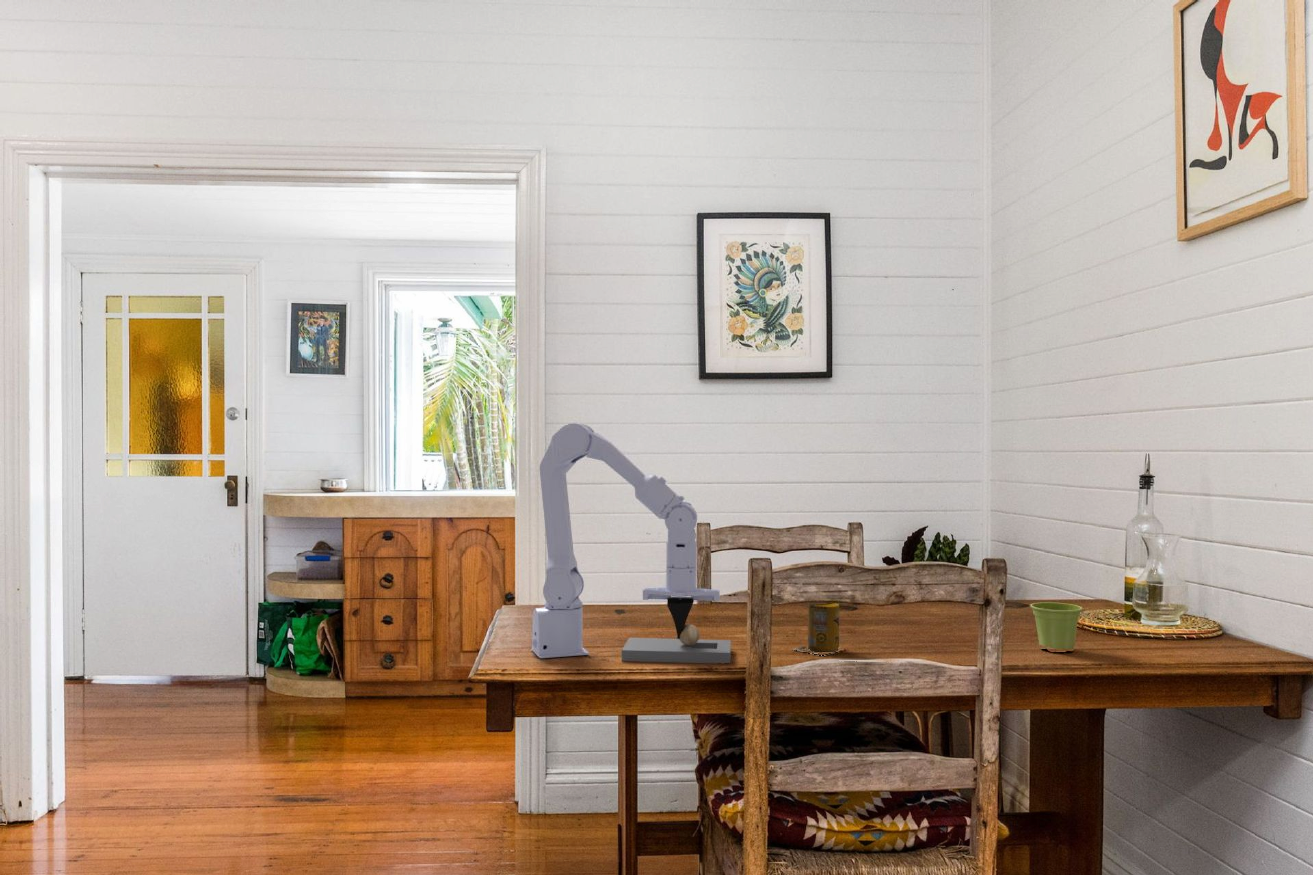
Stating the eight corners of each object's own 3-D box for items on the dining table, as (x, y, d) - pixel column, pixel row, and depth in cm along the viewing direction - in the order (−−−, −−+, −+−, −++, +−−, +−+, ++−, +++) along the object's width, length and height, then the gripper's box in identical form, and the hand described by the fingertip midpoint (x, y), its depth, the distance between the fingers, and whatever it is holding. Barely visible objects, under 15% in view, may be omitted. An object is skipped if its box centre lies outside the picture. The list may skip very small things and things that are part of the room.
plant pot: (1030, 653, 174) (1030, 608, 174) (1030, 643, 183) (1030, 600, 183) (1084, 657, 170) (1083, 611, 170) (1080, 647, 179) (1080, 603, 179)
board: (621, 660, 166) (621, 650, 166) (629, 647, 177) (629, 637, 177) (730, 663, 164) (730, 652, 164) (730, 650, 175) (730, 639, 175)
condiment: (848, 650, 176) (848, 588, 176) (822, 657, 170) (822, 593, 170) (817, 644, 181) (817, 584, 181) (791, 650, 175) (792, 589, 176)
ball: (677, 632, 168) (698, 633, 168) (679, 619, 172) (700, 620, 171) (677, 649, 170) (698, 650, 169) (679, 636, 173) (699, 637, 173)
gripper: (641, 568, 168) (640, 641, 167) (719, 570, 166) (718, 643, 166) (645, 563, 175) (644, 633, 174) (719, 565, 173) (719, 635, 173)
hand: (680, 638), depth 171 cm, fingers closed, pressing on ball
